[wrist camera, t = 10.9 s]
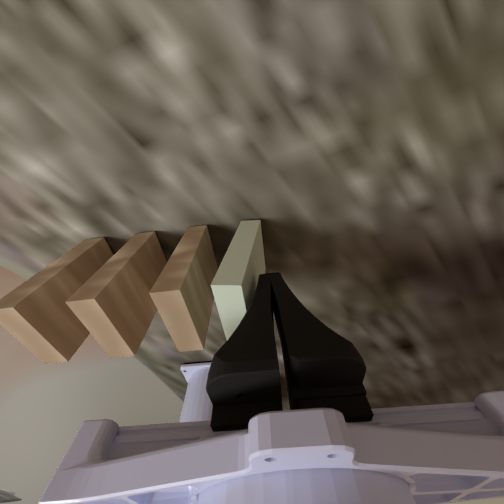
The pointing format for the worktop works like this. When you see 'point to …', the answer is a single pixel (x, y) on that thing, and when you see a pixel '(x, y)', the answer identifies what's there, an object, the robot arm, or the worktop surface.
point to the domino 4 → (239, 275)
